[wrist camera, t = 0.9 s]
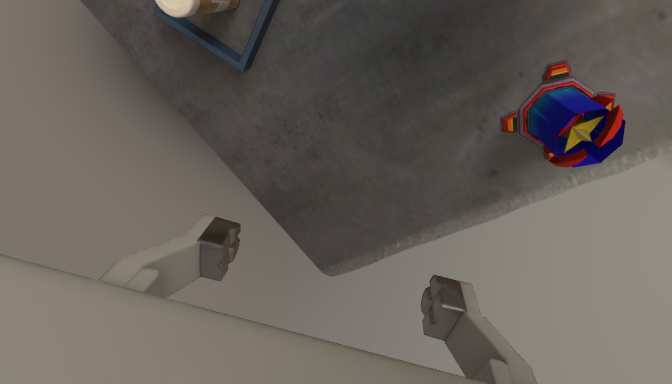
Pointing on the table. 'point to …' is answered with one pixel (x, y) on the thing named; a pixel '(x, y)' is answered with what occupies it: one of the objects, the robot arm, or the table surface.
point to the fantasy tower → (569, 120)
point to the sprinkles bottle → (195, 6)
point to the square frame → (218, 47)
